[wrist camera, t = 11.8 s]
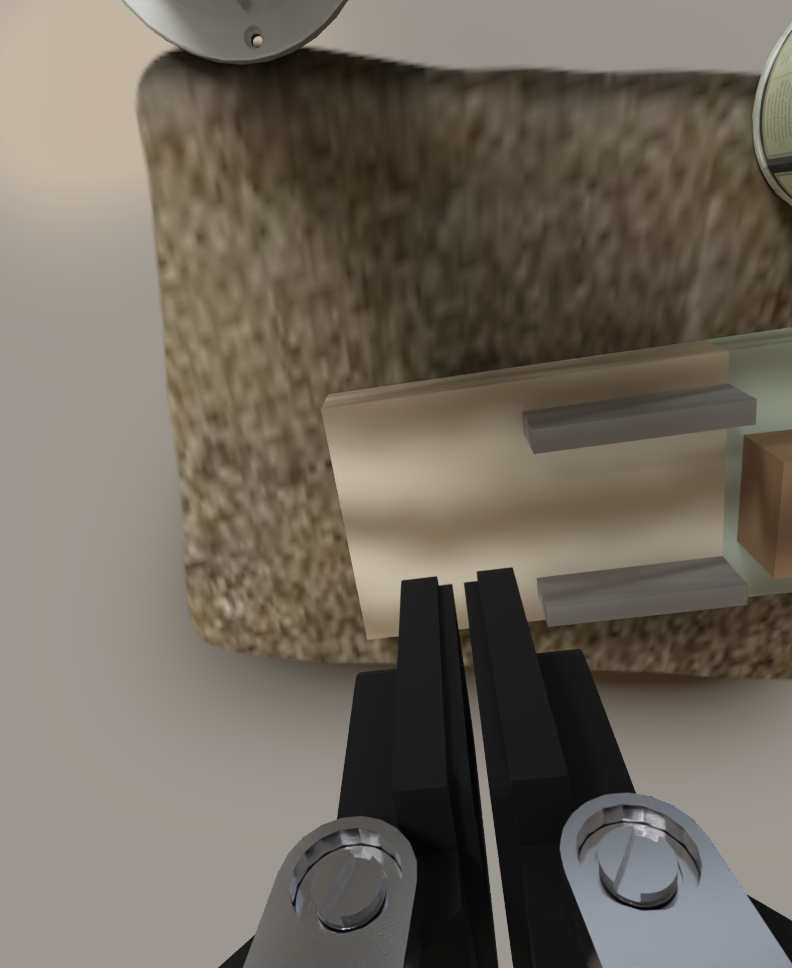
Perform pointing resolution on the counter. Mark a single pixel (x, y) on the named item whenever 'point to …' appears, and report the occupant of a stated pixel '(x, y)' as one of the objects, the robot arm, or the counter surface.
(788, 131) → the coffee can
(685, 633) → the counter surface
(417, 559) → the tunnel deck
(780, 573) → the walnut block
